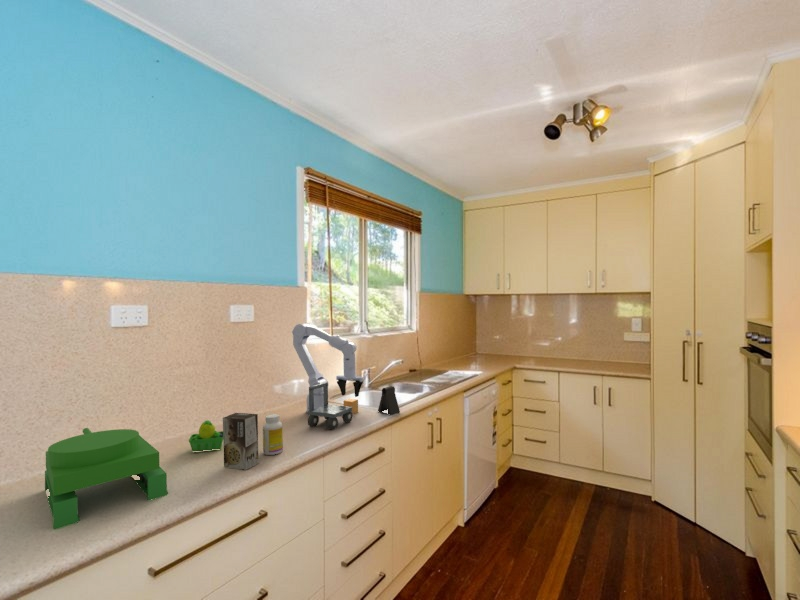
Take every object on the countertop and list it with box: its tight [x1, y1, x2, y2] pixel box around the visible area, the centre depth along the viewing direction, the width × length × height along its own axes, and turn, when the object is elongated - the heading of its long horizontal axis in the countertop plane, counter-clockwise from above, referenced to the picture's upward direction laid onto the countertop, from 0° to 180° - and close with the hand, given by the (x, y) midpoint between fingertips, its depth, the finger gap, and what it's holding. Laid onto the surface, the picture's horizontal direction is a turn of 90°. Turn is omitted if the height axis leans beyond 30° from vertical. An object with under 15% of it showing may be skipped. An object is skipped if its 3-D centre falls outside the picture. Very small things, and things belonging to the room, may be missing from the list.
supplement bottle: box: [262, 413, 284, 456], centre depth 142 cm, size 7×7×13 cm
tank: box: [44, 427, 169, 531], centre depth 115 cm, size 24×35×16 cm
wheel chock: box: [343, 398, 359, 415], centre depth 192 cm, size 5×8×6 cm, turn 152°
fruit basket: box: [188, 420, 223, 452], centre depth 145 cm, size 11×9×11 cm
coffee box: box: [222, 412, 260, 471], centre depth 130 cm, size 9×6×16 cm
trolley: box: [307, 381, 352, 418], centre depth 175 cm, size 14×13×12 cm
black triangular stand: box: [377, 386, 401, 416], centre depth 192 cm, size 9×6×12 cm, turn 47°
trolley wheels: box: [307, 411, 354, 431], centre depth 174 cm, size 12×16×5 cm
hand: (350, 395), depth 193 cm, fingers open, 7 cm apart
